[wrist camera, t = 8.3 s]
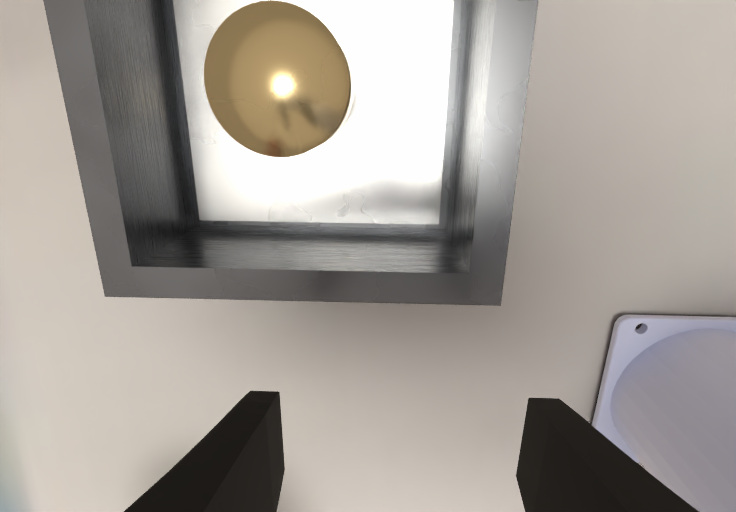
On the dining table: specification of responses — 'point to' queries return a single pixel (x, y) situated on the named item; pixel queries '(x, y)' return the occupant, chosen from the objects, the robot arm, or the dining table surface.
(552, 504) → the robot arm
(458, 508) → the dining table surface
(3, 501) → the dining table surface
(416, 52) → the plunger
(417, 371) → the dining table surface
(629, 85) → the dining table surface
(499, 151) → the press housing
